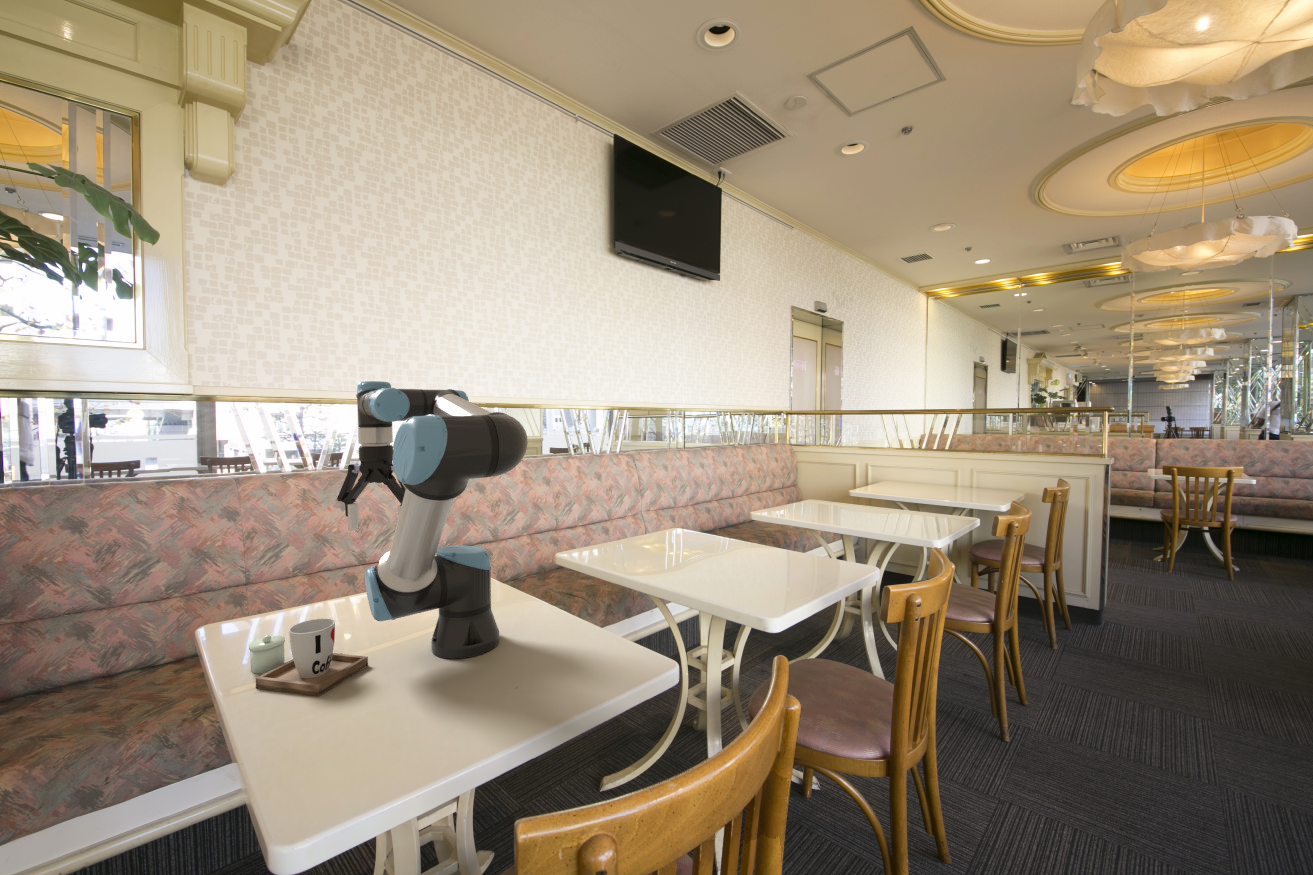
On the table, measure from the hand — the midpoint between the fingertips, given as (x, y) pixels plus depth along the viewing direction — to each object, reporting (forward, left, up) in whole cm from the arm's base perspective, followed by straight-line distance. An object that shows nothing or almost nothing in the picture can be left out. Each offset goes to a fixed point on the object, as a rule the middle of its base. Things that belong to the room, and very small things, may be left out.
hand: (378, 530), depth 134 cm
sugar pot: (+11, +21, -26) cm, 35 cm away
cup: (-2, +22, -25) cm, 34 cm away
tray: (-2, +22, -26) cm, 34 cm away
